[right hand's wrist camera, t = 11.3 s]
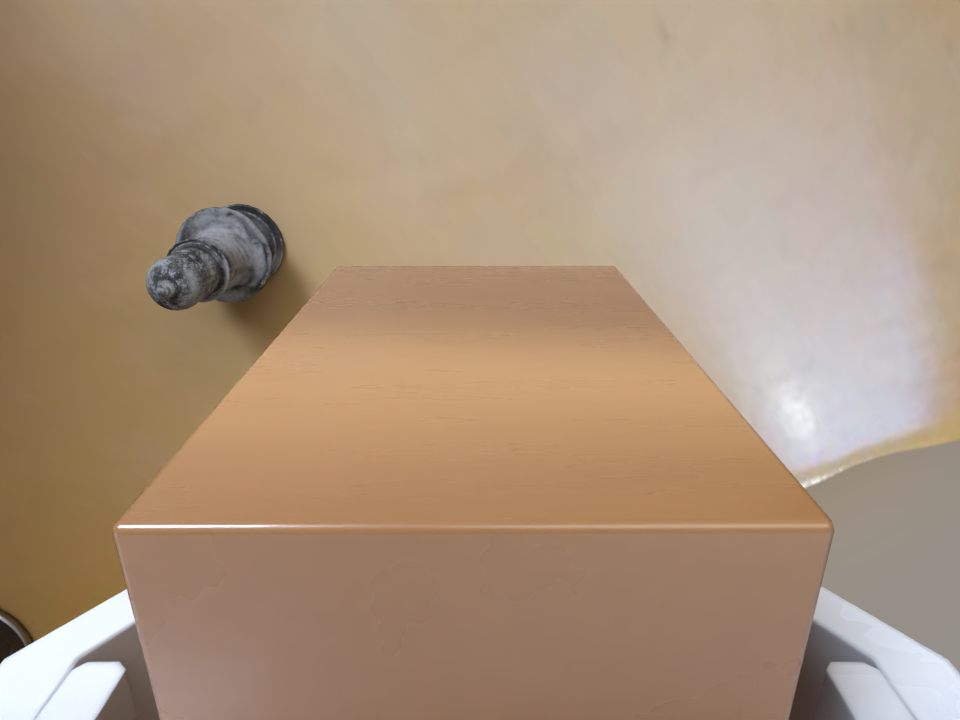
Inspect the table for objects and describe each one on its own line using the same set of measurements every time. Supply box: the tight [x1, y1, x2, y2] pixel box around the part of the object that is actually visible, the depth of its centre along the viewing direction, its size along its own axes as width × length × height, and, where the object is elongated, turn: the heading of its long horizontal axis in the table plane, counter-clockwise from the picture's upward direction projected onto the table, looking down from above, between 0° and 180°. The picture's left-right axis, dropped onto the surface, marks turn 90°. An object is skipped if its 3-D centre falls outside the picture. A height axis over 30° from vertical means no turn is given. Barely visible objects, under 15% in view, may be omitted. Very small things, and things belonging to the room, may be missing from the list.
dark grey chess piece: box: [146, 204, 284, 310], centre depth 37 cm, size 6×6×12 cm
